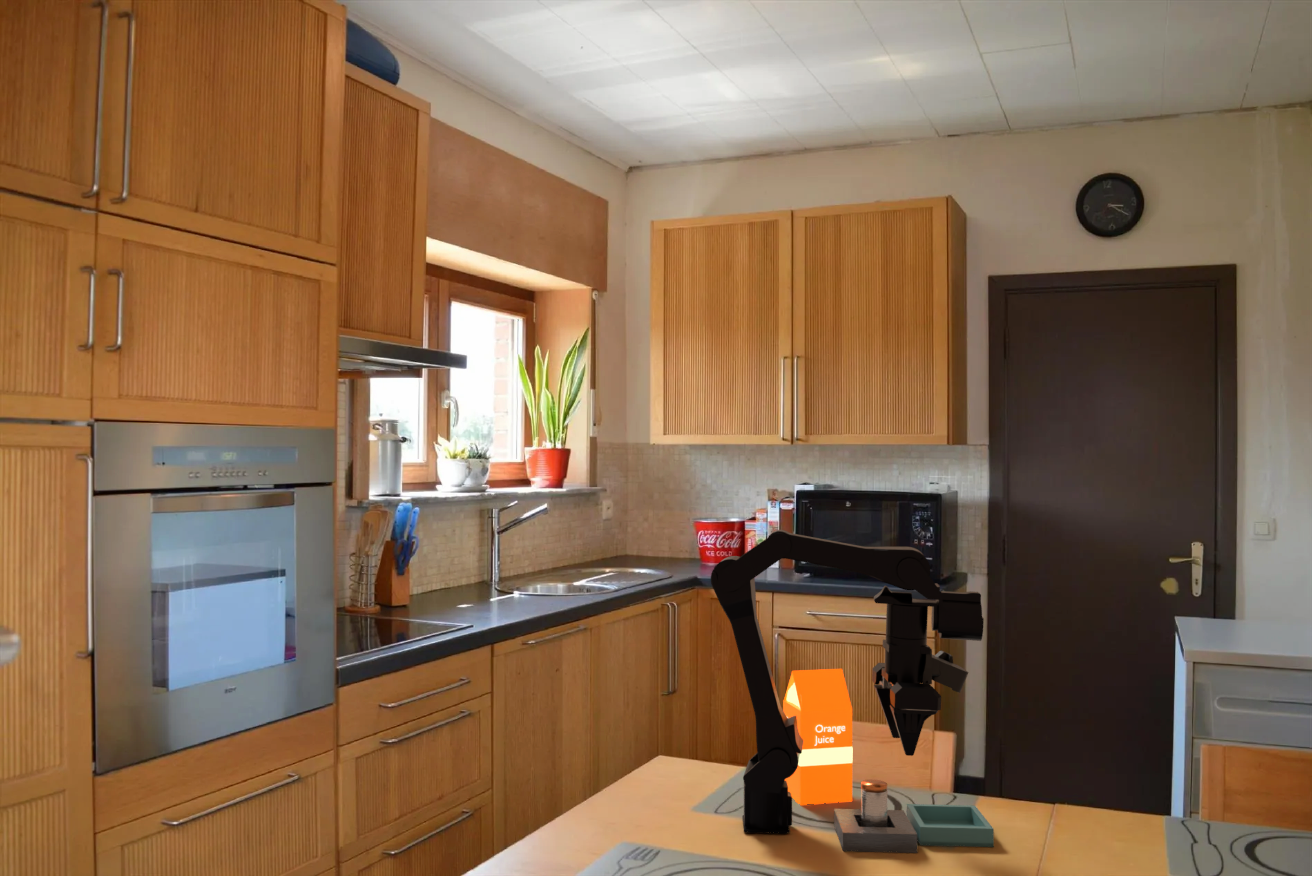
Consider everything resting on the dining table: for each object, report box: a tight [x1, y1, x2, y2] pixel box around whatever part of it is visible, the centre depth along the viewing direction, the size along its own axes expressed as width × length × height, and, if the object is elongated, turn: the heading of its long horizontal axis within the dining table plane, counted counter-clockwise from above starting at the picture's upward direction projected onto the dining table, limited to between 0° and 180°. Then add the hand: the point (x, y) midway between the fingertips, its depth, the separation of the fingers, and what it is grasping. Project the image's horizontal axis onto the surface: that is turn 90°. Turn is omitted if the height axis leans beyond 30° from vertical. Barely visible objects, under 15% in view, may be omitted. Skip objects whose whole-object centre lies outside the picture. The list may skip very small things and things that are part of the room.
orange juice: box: [782, 668, 854, 806], centre depth 166 cm, size 8×9×20 cm
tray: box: [906, 803, 995, 848], centre depth 149 cm, size 10×10×2 cm
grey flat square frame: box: [833, 808, 918, 854], centre depth 147 cm, size 10×10×2 cm
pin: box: [860, 778, 888, 827], centre depth 147 cm, size 4×4×8 cm
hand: (902, 746), depth 148 cm, fingers open, 9 cm apart
